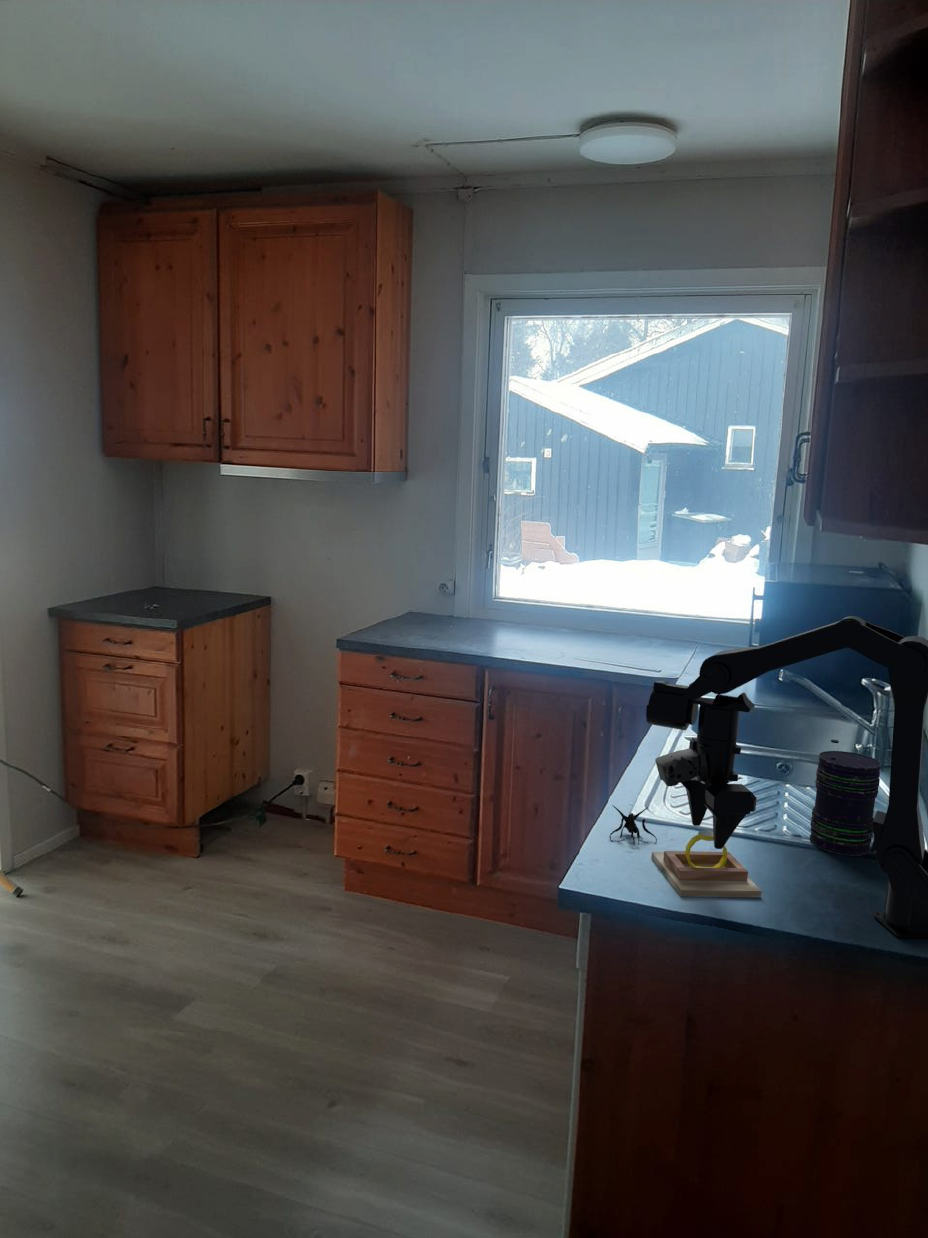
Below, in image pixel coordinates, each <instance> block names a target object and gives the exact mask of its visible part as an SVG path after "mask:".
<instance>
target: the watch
mask: <svg viewBox="0 0 928 1238" xmlns="http://www.w3.org/2000/svg"><path fill="white" fill-rule="evenodd" d="M701 840H702V841H706V842H714V838H713V830H709V829H708V830H707V829H703V830H702V829H701V830H699V831H698V832H697V834H696V835H694V836H693V837H691V838H690V840H689V841H688V842H687V844H686V846H685V850H684V851H685V853H686V854H685V855H686V858H687V861H688V863H689V865H690V866H691V867H692V868H722V867H723V866H724V864H725V862H726V859H727V852H728V849H727V848H726V847H727V846H726V844H725V845H724V847H723V848H722V852H723V856H722V858H721V860H720V861H719V863H718V864H716V865H715V866H713V867H700V866H695V865H694V864H693V863H692V862H691V860H690V857H689V855H690V851H691V849H692V847H694V845H695V844H696V843H697V842H698V841H701Z"/></svg>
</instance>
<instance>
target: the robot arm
mask: <svg viewBox="0 0 928 1238" xmlns="http://www.w3.org/2000/svg"><path fill="white" fill-rule="evenodd" d="M848 648H849V649H850V650H853V651H855V652H857V653H858V654H860V655H862V656H864V657H865V658H867V659H869V660H871V661H873V662H874V663H876V664H878V665H880V666H882V667H885V668H887V670H888V671H887V672H888V677H889V679H888V680H889V685H890V686H889V687H890V692H891V697H892V701H893V707H894V708H893V709H894V710H893V712H894V713H893V725H892V728H893V729H892V744H891V757H890V758H891V759H890V774H889V789H888V790H889V791H888V805H887V809H886V812H884V811H880V810H876V813H875V815H874V816H873V818H874V820H873V841H872V844H871V845H870V847H871V849H870V853H873V852H875V861H876V864H877V866H878V867H879V868H880V869H881V870H882V871H883V872H884V873H886V874H887V878H888V883H887V885H886V893H885V901H884V908H883V911H884V912H878V911H877V912H875V911H874V912H873V917H874V918H875V919H876V920H877V921H879V923H881V924H882V925H883V926H884V927H885V928H887V929H888V930H889V931H890V932H891V933H892V934H893V935H895V937H897V938H923V939H924V938H927V939H928V850H927V849H926V842H925V841H926V840H925V835H924V827H923V820H922V815H921V809H920V804H919V803H920V787H921V773H922V758H923V757H922V756H923V745H924V744H923V743H924V742H923V741H924V727H925V712H926V704H927V700H928V639H927V638H925V637H921V636H919V635H918V636H917V635H911V636H910V635H909V636H906V637H905V636H903V635H901V634H899V633H897V632H894V631H892V630H889V629H886V628H883V627H881V626H878V625H876V624H872V623H870V622H868V621H866V620H864V619H863V618H861V617H859V616H855V615H850V616H846V617H844V618H842V619H841V620H838V621H836V622H833V623H830V624H829V623H828V624H827V625H823V626H820V627H817V628H814V629H811V630H807V631H805V632H801V633H799V634H795V635H791V636H789V637H786V638H783V639H780V640H778V641H774V642H771V643H767V644H765V645H758V646H747V647H739V648H738V647H737V648H731V649H725V650H720V651H719V652H716V653H714V654H712V655H710V656H709V657H707V658H706V659H705V660H703V661H702V663H701V664H700V668H699V673H698V674H699V675H698V676H697V678H696V679H695V680H694V681H693V682H691V683H689V684H688V685H685V684H684V685H683V684H676V683H670V682H668V681H666V680H656V681H655V682H653V688H652V691H651V693H650V696H649V699H648V703H647V704H646V710H645V718H646V723H647V724H648V725H651V726H658V727H664V728H668V729H675V730H680V731H687V730H688V728H689V726H690V725H691V726H694V725H695V724H696V722H697V732H696V737H692V738H691V739H690V740H689V745H688V748H685V749H680V750H677V751H676V750H675V751H672V752H669V753H666V754H663V755H661V756H658V757H656V758H655V760H654V761H655V764H656V768H657V772H658V775H659V778H660V780H661V781H663V782H664V784H665V786H667V787H674V786H678V785H679V784H681V785H682V786H683V787H684V788H685V791H686V795H687V800H688V808H689V812H690V818H691V824H692V826H694V827H700V826H701V824H702V822H703V820H704V818H705V816H706V814H707V813H706V812H707V810H709V812H710V813H711V815H712V831H713V838H714V841H713V847H714V849H715V850H717V849H718V850H723V847H724V845H725V846H726V843H727V842H728V841H729V839H730V837H732V834H733V833H734V832H735V830H736V829H737V827H738V826H739V825H740V823H741V822H742V821H743V820H744V819H745V817H746V815H750V814H751V813H753V812H755V811H756V808H757V800H758V797H757V796H756V795H755V794H754V792H752V791H751V790H750V789H748V788H747V787H746V786H745V785H744V784H743V783H730V782H738V780H739V774H738V773H737V772H736V771H734V770H735V760H736V759H735V758H736V755H741V754H742V753H741V752H742V746H739V745H738V744H737V739H738V730H739V721H740V712H741V713H749V712H751V711H752V710H753V709H755V707H756V704H754V702H753V701H751V700H750V699H749V697H748V696H747V694H746V692H741V693H740V694H739V695H738V696H731V695H726V694H728V693H730V692H732V691H734V690H736V689H738V688H740V687H741V686H744V685H746V684H747V683H749V682H751V681H754V680H755V679H757V678H759V677H761V676H763V675H764V674H766V673H769V672H771V671H775V670H777V669H781V668H786V667H787V666H791V665H795V664H797V663H800V662H801V663H802V662H804V661H808V660H811V659H814V658H817V657H820V656H824V655H827V654H830V653H833V652H836V651H840V650H843V649H848ZM710 693H713V694H715V697H714V698H709V697H704V696H707V695H708V694H710ZM697 719H698V720H697Z"/></svg>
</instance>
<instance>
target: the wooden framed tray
mask: <svg viewBox="0 0 928 1238" xmlns="http://www.w3.org/2000/svg"><path fill="white" fill-rule="evenodd" d="M685 851H686V850H684V851H683V850H682V851H681V850H664V851H651V857H650V858H651V859H652V861H653V863H654V864H655V865H656V867H658V869H659V870H660V871H661V873H662V874H663V875H664V877H665V878H666V880H667V881H668V882H669V883H670V884H671V885H672V886H671V887H673V889H674V890H675V891H676V892H677V894H678V895H679V896H680V897H683V898H685V897H687V898H693V897H694V898H698V897H699V898H762V894H763V891H762V890H761V888H759V887H758V885H757V884H755V882H754V881H753V880H752V879H751V878H750V877H749V871H748V869H746V868H745V867H744V866H743V864H742V863H740V862H739V860H738V859H736V857H735V856H734V855H733V854H732V853H730V851H727V859H726V862H725V864H724V866H723V867H722V868H692V867H691V866H690V865H689V863H688V861H687V858H686V855H685V854H686V853H685ZM722 856H723V851H691V850H690V855H689V857H690V860H691V862H692V863H693V864H694V865H695V866H700V867H713V866H715V865H716V864H718V863H719V861H720V860H721V858H722Z"/></svg>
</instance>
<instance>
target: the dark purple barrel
mask: <svg viewBox="0 0 928 1238" xmlns="http://www.w3.org/2000/svg"><path fill="white" fill-rule="evenodd" d="M830 742H831V743H832V744H839V743H840V741H839V739H830ZM881 767H882V763H881V761H879V759H876V758H874V757H871V756H868V755H865V754H860V753H857V752H849V751H844V750H843V751H841V750H827V751H822V752H820V753H819V755H818V763H817V768H816V774H815V776H816V778H815V781H814V782H815V788H816V793H815V802H814V806H813V808H812V810H811V818H810V835H809V842H810V844H812V845H813V846H815V847H817V848H819V849H820V850H823V851H826V852H828V853H832V854H837V855H844V856H851V857H852V856H854V857H855V856H856V857H857V856H866V855H868V854H870V853H871V851H870V849H871V843H872V842H873V841H872V838H874V833H873V820H874V811H875V805H876V804H875V803H876V802H875V801H876V798H877V797H878V795H879V786H880V782H881V779H880V775H881V773H880V770H881Z"/></svg>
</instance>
